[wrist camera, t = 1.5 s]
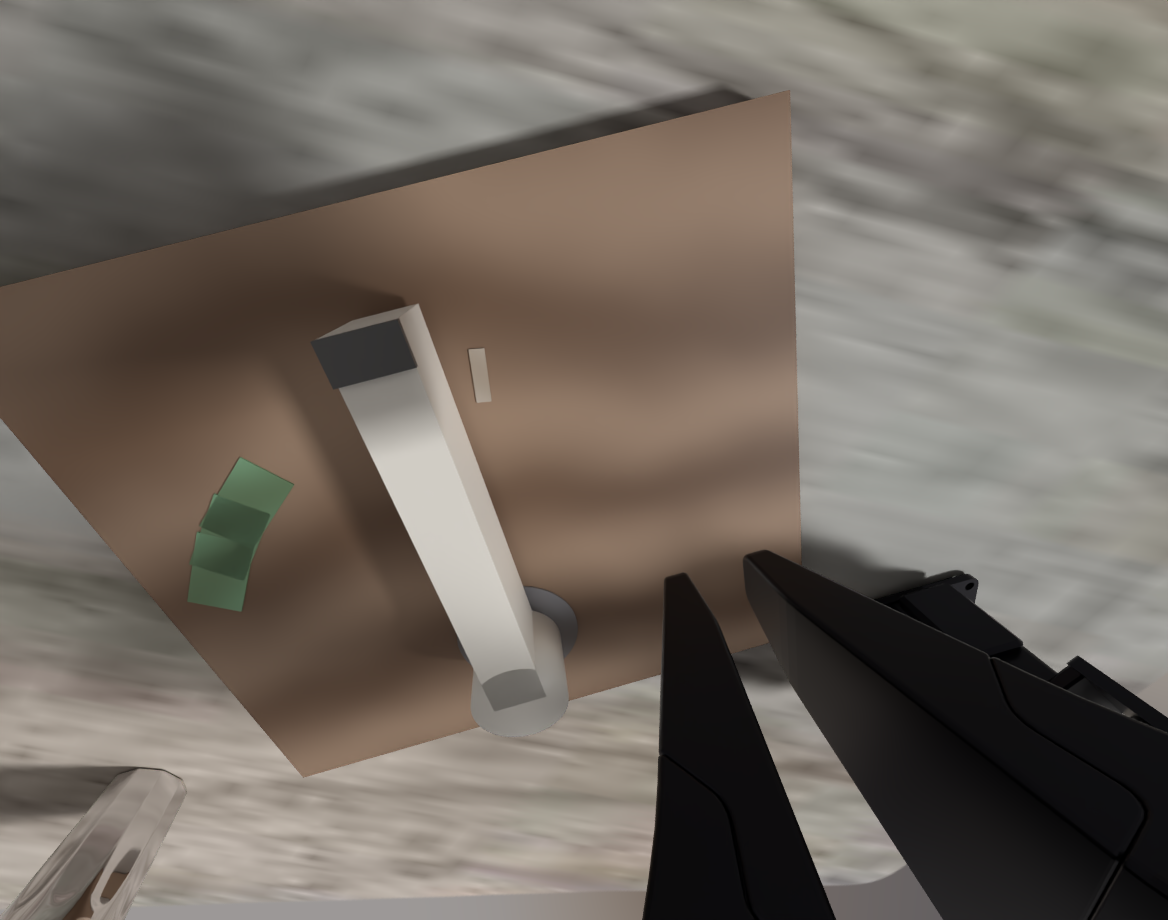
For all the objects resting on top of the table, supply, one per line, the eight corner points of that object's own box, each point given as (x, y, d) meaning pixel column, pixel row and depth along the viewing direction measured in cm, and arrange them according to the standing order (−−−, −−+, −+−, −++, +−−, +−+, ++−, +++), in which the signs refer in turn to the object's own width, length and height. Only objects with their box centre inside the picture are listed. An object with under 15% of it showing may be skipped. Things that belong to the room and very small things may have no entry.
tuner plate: (787, 611, 25) (804, 634, 23) (315, 747, 24) (302, 779, 22) (764, 103, 15) (791, 88, 13) (-34, 302, 14) (-95, 310, 13)
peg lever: (569, 659, 21) (578, 725, 18) (490, 682, 21) (488, 752, 18) (444, 296, 14) (427, 311, 11) (325, 327, 14) (278, 350, 11)
